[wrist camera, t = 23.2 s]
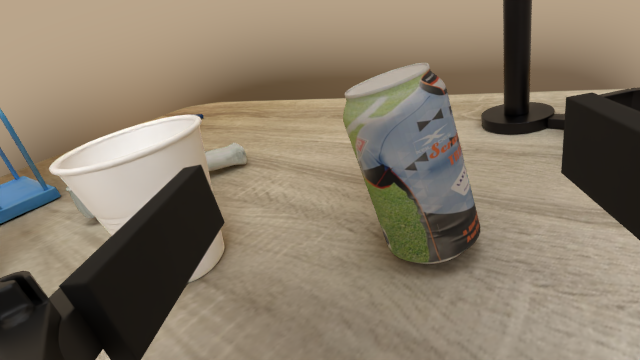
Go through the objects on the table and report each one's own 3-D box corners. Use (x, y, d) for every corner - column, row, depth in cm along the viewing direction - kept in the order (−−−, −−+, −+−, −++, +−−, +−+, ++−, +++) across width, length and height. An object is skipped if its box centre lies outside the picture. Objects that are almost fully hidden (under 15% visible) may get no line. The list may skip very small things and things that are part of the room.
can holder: (786, 163, 24) (906, -164, 17) (465, 159, 35) (454, -40, 27) (722, 101, 33) (780, -123, 26) (486, 113, 44) (482, -43, 37)
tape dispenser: (260, 170, 48) (162, 162, 58) (251, 132, 46) (151, 131, 56) (154, 243, 35) (48, 217, 44) (135, 195, 33) (27, 179, 42)
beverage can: (484, 279, 21) (475, 71, 16) (361, 273, 23) (320, 95, 18) (478, 218, 26) (470, 47, 21) (378, 219, 29) (350, 69, 24)
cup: (117, 270, 31) (48, 154, 26) (221, 216, 35) (178, 110, 31) (139, 334, 23) (47, 186, 18) (269, 255, 28) (221, 120, 23)
